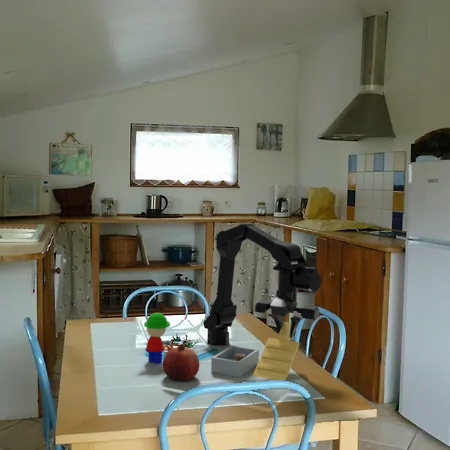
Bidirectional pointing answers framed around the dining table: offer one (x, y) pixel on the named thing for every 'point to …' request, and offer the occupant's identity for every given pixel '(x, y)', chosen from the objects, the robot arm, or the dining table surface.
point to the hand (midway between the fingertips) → (286, 337)
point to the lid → (277, 356)
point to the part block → (239, 356)
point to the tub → (234, 367)
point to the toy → (155, 336)
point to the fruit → (181, 363)
